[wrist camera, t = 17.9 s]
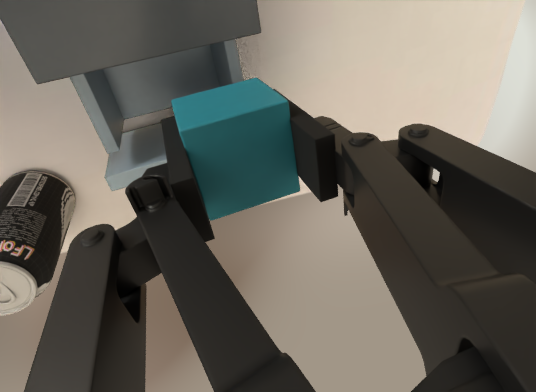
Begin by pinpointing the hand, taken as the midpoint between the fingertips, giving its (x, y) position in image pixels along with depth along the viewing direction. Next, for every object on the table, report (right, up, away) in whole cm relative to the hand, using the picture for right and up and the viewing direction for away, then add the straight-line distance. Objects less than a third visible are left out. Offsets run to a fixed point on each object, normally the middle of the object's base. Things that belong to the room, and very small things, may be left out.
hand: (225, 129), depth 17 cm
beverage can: (-19, -3, +13) cm, 23 cm away
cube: (0, 0, 0) cm, 0 cm away
